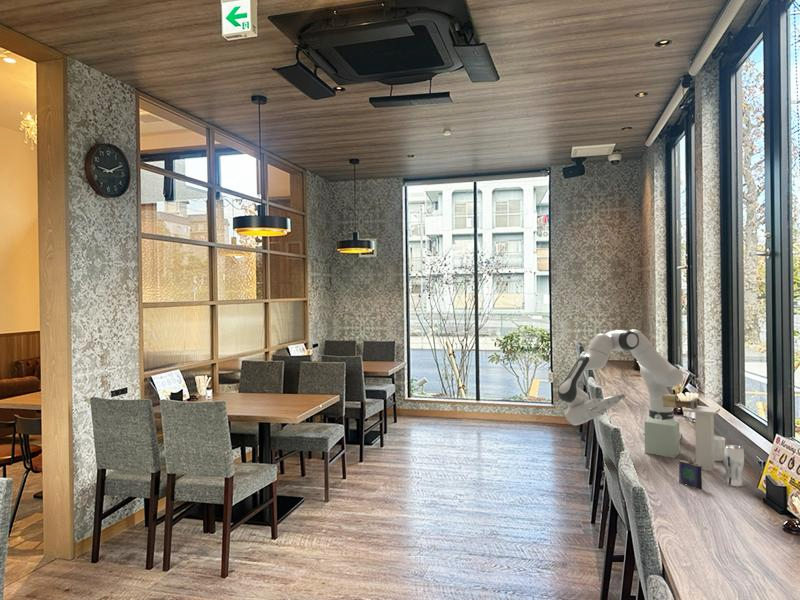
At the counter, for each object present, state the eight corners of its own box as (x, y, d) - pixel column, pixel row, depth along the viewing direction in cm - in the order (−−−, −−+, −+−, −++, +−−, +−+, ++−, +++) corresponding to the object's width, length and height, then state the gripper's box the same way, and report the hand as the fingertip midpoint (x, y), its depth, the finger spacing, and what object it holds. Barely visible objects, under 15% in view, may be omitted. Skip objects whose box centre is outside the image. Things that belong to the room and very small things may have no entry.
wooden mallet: (666, 405, 242) (665, 394, 243) (697, 406, 234) (696, 395, 234) (663, 406, 238) (662, 395, 239) (695, 408, 230) (694, 396, 230)
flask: (677, 482, 212) (677, 456, 212) (682, 481, 213) (682, 455, 213) (699, 489, 204) (699, 462, 204) (704, 488, 205) (704, 461, 205)
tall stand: (690, 461, 239) (689, 396, 239) (720, 467, 231) (720, 399, 231) (684, 468, 230) (683, 400, 230) (715, 473, 222) (714, 403, 222)
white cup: (703, 459, 243) (703, 437, 243) (707, 455, 248) (707, 434, 249) (723, 462, 237) (723, 440, 237) (727, 458, 243) (726, 437, 243)
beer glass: (726, 480, 214) (725, 443, 214) (746, 484, 209) (745, 446, 209) (721, 484, 209) (721, 446, 209) (741, 488, 204) (741, 450, 204)
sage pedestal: (650, 448, 261) (650, 418, 261) (679, 453, 253) (679, 422, 253) (644, 452, 253) (644, 421, 254) (674, 457, 245) (674, 425, 245)
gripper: (584, 404, 250) (610, 393, 242) (599, 398, 265) (624, 388, 258) (591, 417, 248) (617, 406, 240) (606, 410, 263) (631, 400, 256)
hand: (621, 396), depth 249 cm, fingers open, 8 cm apart
